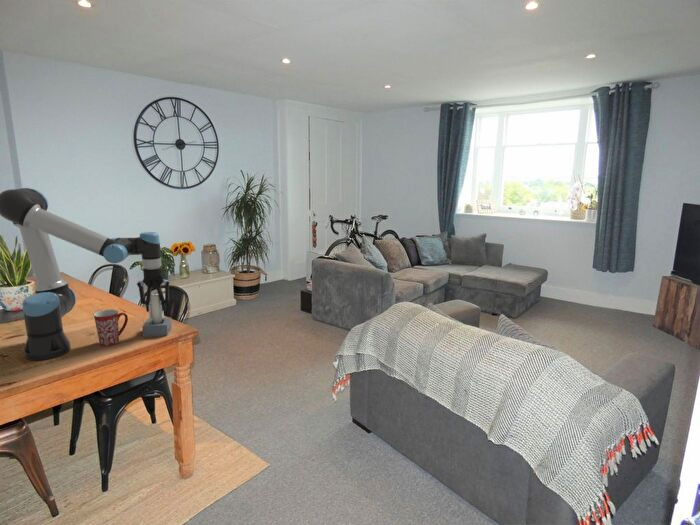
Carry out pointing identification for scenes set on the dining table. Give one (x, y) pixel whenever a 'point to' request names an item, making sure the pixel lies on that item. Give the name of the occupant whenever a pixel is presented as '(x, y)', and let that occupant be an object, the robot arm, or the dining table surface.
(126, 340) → the dining table surface
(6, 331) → the dining table surface
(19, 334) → the dining table surface
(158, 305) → the candle
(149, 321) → the holder
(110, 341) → the mug
